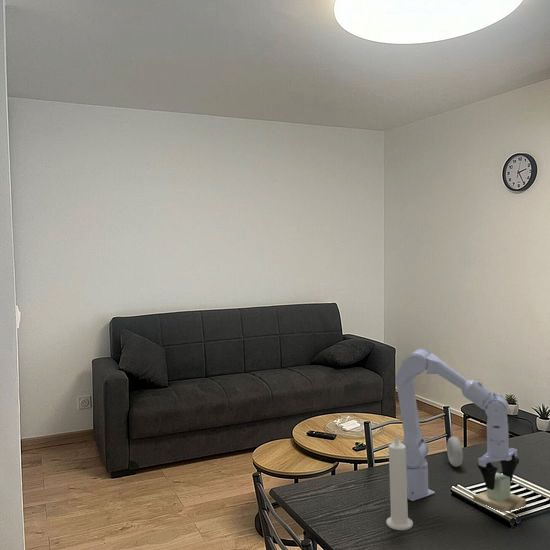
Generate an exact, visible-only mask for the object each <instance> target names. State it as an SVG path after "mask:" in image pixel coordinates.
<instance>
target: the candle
mask: <svg viewBox="0 0 550 550" xmlns="http://www.w3.org/2000/svg"><path fill="white" fill-rule="evenodd" d="M394 437H395V438H394V441H392V442H391V443H389V445H388V461H389V463H388V464H389V466H388V467H389V495H390V498H389V499H390V517H387V518H386V525H387V526H388V528H390V529H393V530H397V531H407V530H411V529H412V528H413V526H414V521H413V520H412V519H411V518H409V512H408V499H407V473H406V446H405V445H404V444H403V442H401V441H400V438H399V434H398V433H396V434H395V435H394Z"/></svg>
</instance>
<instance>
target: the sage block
mask: <svg viewBox="0 0 550 550" xmlns="http://www.w3.org/2000/svg"><path fill="white" fill-rule="evenodd" d="M486 491H487V497H490V498H492V499H495V500H497V501H500V502H501V501H504V500H506V499H508V498H510V493H511V483H510V477H508V476H505V475H503V473H500V472H497V471H496V475H495V484H494V489H493V490H491V489H488V488H486Z"/></svg>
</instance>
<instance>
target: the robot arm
mask: <svg viewBox="0 0 550 550" xmlns="http://www.w3.org/2000/svg"><path fill="white" fill-rule="evenodd" d="M425 371H426V373H425V375H439V376H441V378H443V379H444V380H446V381H447V382H449V383H451V384H452V385H453V386H455V387H457V388H459V389H460V390H461V393H462V396H463V397H465V399H467V400H469V401H470V402H471V403H473V404H474V405H475V406H477V407H479V408H480V409H481V410H484V412H485V415H486V416H487V417H486V418H487V421H486V441H487V442H486V444H487V445H486V446H487V447H486V449H487V451H486V453H484V454H483V455H482V456H481V457H478V458H477V459H478V461H477V463H476V464H477V465H476V466H477V467H478V469H479V471H480V473H481V475H482V478H483V480H484V483H485V487H486V489H487V488H488V489H491V490H493V489H494V484H495V475H496V472H497V471H498V467H496V466H494V465H493V463H497V462H500V465H501V470H502V473H501V474H503V475H505V476H508V477H510V484H512V481H513V477H514V473H515V470H516V468H517V466H518V464H520V458H518V449H517V448H513V447H509V422H508V421H509V420H508V419H509V418H508V410H509V403H508V401H507V399H506V397H504V396H503V395H502V394H498V392H495V391H491V390H490V389H488V388H487V387H485V386H484V385H483V382H482V381H481V380H478V381H477V380H476V379H467V378H466V377H464V376H463V375H462V374H460V373H459V372H458V371H457V370H455V369H454V368H453V367H451V366H450V365H449V364H447V363H446V362H445V361H444V360H442V359H441V358H440V357H438V356H437V355H436V354H434V353H433V352H432V353H430V351H429V350H428V349H425V348H420V347H419V348H417V349H414V351H413V352H411V353H410V354H409V355H407V357H405V358H404V359H403V360H402V362H401V365H400V367H399V369H398V371H397V373H396V375H395V382H396V383H395V384H396V390H397V395H398V404H399V409H400V417H401V422H402V429H403V439H402V444H404V445H405V446H406V473H407V500H409V501H412V502H414V501H417V500H420V499H423V498H425V497H429V496H431V495H432V496H433V495H434V494H435V491H434V490H433V489H432V490H431V489H429V469H428V468H429V465H428V461H427V458H426V456H427V455H428V453H429V446H428V443H427V442H426V441H425V438H424V437H425V436H424V434H423V433H422V431H421V426H420V425H421V424H420V416H419V412H418V404H417V398H416V392H415V386H414V380H415V379H416V378H417V377H418V376H419V375H421V374H422V373H424V372H425Z"/></svg>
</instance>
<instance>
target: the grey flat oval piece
mask: <svg viewBox="0 0 550 550" xmlns="http://www.w3.org/2000/svg"><path fill="white" fill-rule="evenodd" d="M447 439H448V440H447V443H446V452H447V458H448V461H449V463H450V464H451V466H453V467H455V468H457V467H460V466H461V465H462V463H463V461H464V460H463V459H464V451H463V445H462V442H461V441H460V439H459V437H456V436H450V437H449V438H447Z"/></svg>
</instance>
